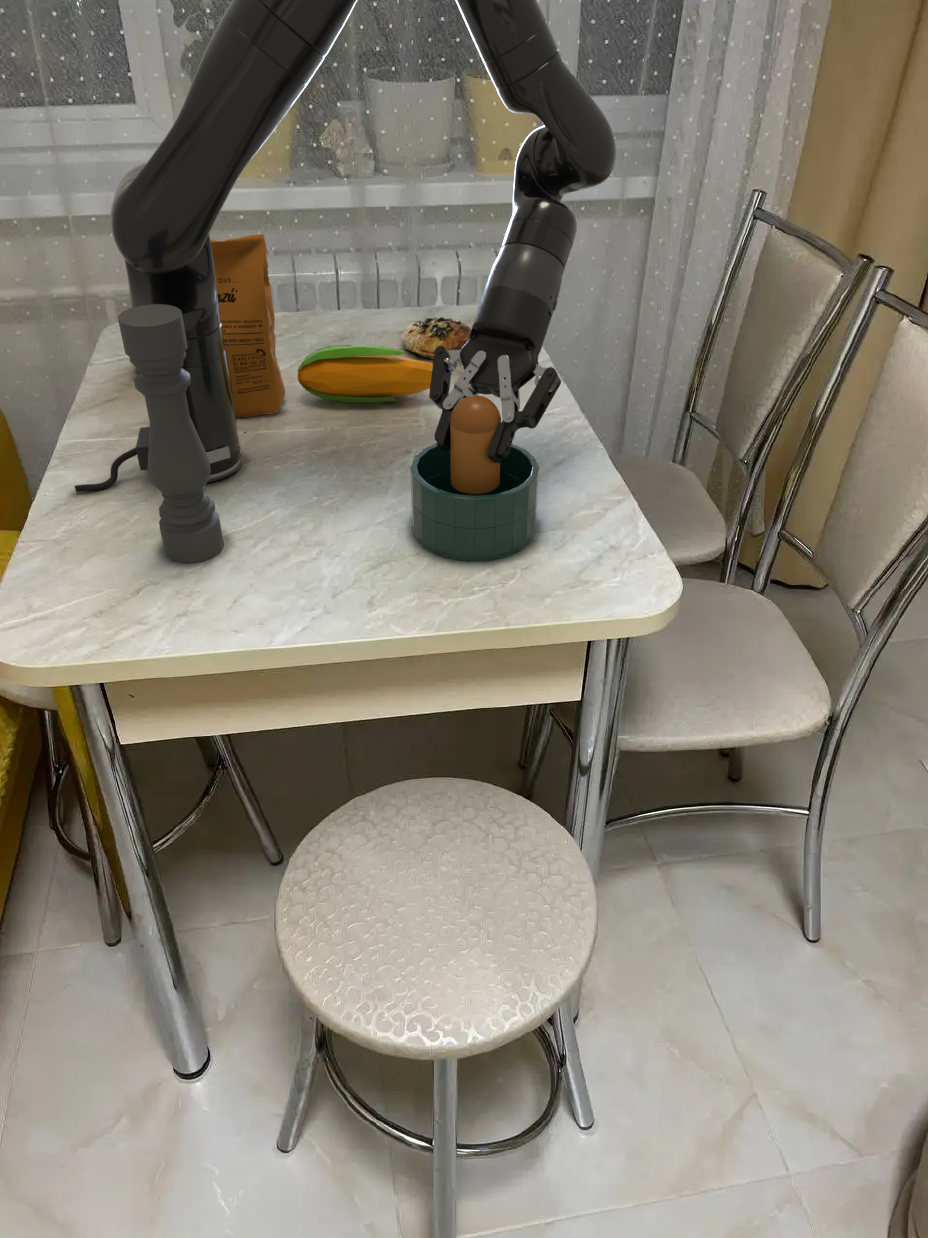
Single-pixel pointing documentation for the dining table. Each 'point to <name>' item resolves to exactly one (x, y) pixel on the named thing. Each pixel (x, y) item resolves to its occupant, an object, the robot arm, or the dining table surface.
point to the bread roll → (435, 335)
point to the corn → (362, 374)
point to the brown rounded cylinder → (473, 445)
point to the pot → (473, 507)
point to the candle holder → (172, 432)
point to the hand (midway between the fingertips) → (468, 453)
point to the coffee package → (248, 324)
